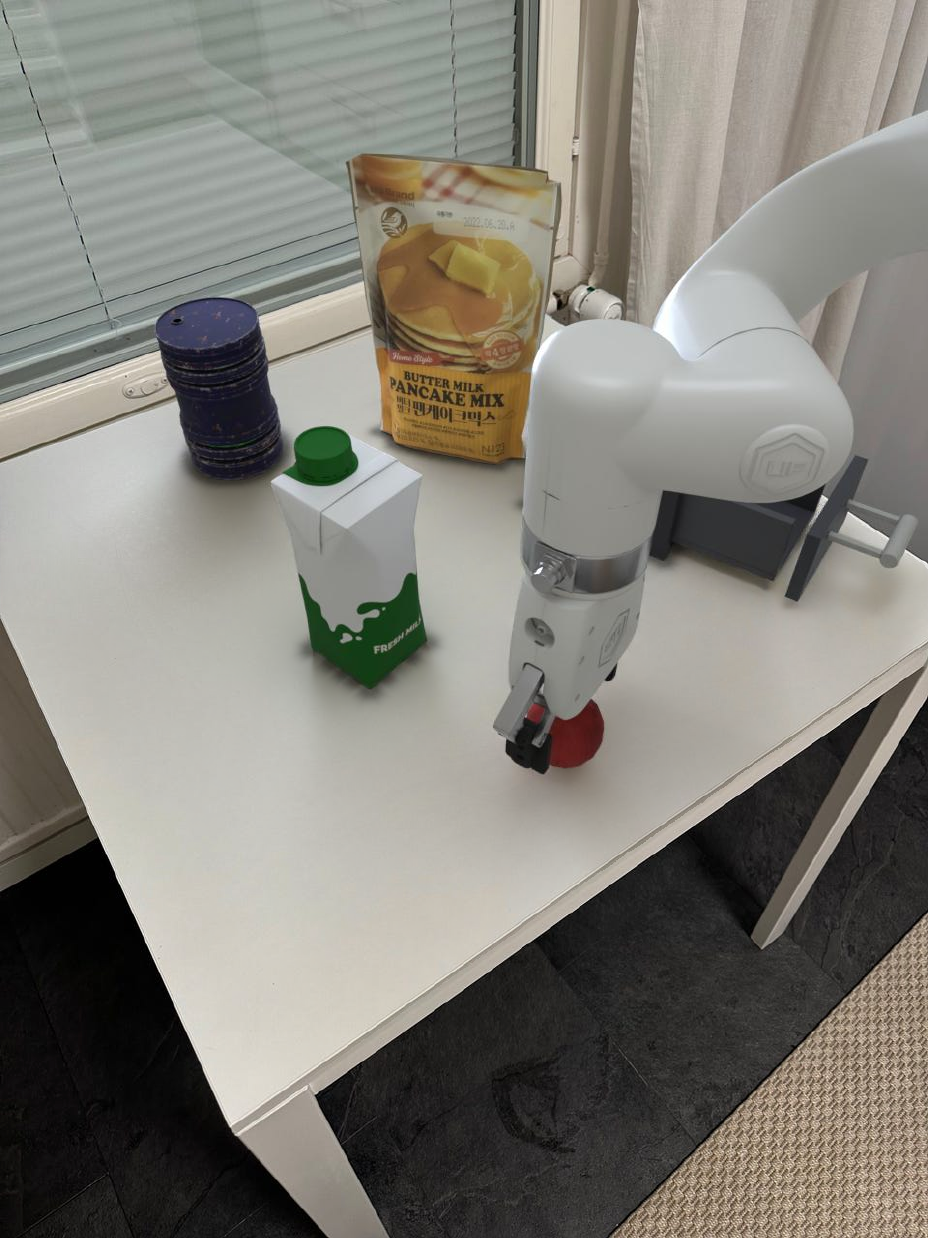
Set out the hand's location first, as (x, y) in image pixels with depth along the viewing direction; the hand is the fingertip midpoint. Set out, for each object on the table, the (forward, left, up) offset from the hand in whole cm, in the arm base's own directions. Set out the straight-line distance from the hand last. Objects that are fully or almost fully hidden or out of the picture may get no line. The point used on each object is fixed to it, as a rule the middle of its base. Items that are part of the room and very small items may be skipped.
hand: (561, 714), depth 64 cm
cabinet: (-10, -31, -5) cm, 33 cm away
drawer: (-23, -22, -4) cm, 32 cm away
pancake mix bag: (+7, -41, -6) cm, 42 cm away
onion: (0, 0, -6) cm, 6 cm away
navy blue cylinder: (+30, -40, -6) cm, 50 cm away
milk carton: (+15, -12, -6) cm, 20 cm away
